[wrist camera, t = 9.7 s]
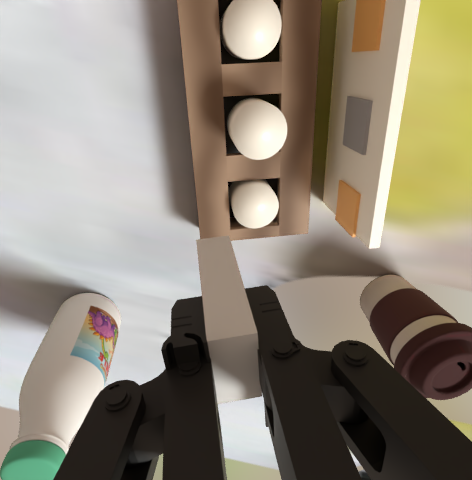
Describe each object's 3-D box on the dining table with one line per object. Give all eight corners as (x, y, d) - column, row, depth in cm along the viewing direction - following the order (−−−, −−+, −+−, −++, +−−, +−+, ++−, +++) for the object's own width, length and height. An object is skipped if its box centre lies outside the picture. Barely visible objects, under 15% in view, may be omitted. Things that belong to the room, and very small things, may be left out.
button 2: (228, 150, 35) (233, 161, 31) (225, 99, 33) (230, 103, 29) (275, 147, 35) (286, 157, 31) (276, 96, 33) (287, 100, 29)
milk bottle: (65, 340, 47) (-9, 510, 29) (53, 292, 43) (-40, 452, 25) (125, 336, 47) (88, 498, 30) (118, 289, 44) (72, 441, 26)
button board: (199, 228, 42) (200, 243, 38) (175, -20, 31) (173, -31, 27) (297, 219, 43) (308, 233, 39) (308, -23, 32) (323, -34, 28)
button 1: (229, 214, 41) (233, 230, 37) (227, 174, 39) (231, 186, 35) (269, 211, 41) (278, 226, 37) (270, 171, 39) (279, 183, 35)
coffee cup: (349, 328, 52) (405, 418, 39) (349, 272, 47) (412, 354, 34) (413, 314, 52) (490, 400, 39) (419, 258, 48) (509, 333, 35)
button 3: (221, 60, 33) (225, 60, 30) (217, 0, 31) (222, -9, 27) (270, 58, 34) (281, 57, 30) (270, -2, 32) (282, -10, 28)
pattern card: (320, 203, 42) (365, 250, 32) (335, 0, 33) (406, -30, 22) (330, 202, 42) (379, 249, 32) (348, -1, 33) (425, -30, 22)
